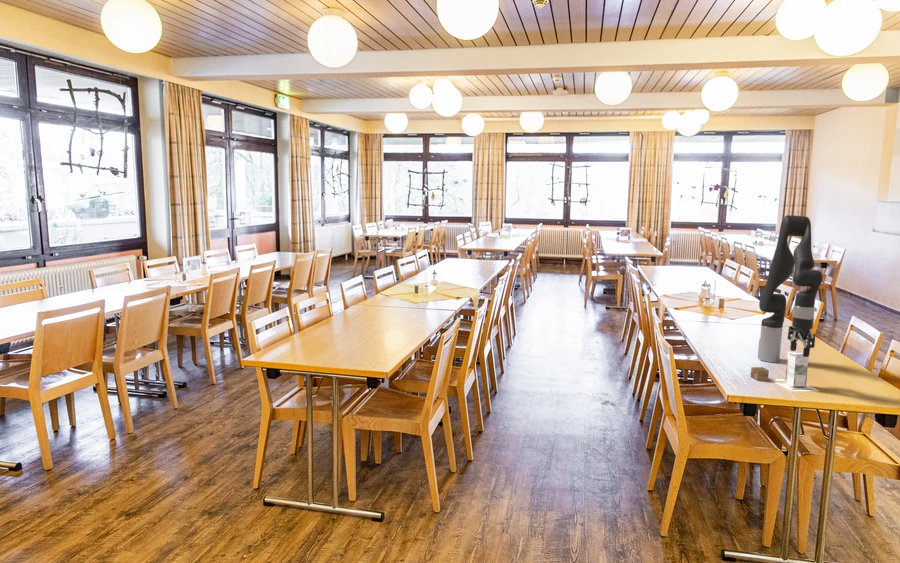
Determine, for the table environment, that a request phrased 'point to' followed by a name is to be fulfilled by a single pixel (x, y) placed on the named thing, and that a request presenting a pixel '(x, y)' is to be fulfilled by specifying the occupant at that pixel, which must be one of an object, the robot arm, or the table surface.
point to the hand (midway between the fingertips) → (799, 353)
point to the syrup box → (796, 369)
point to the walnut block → (759, 373)
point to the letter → (793, 389)
